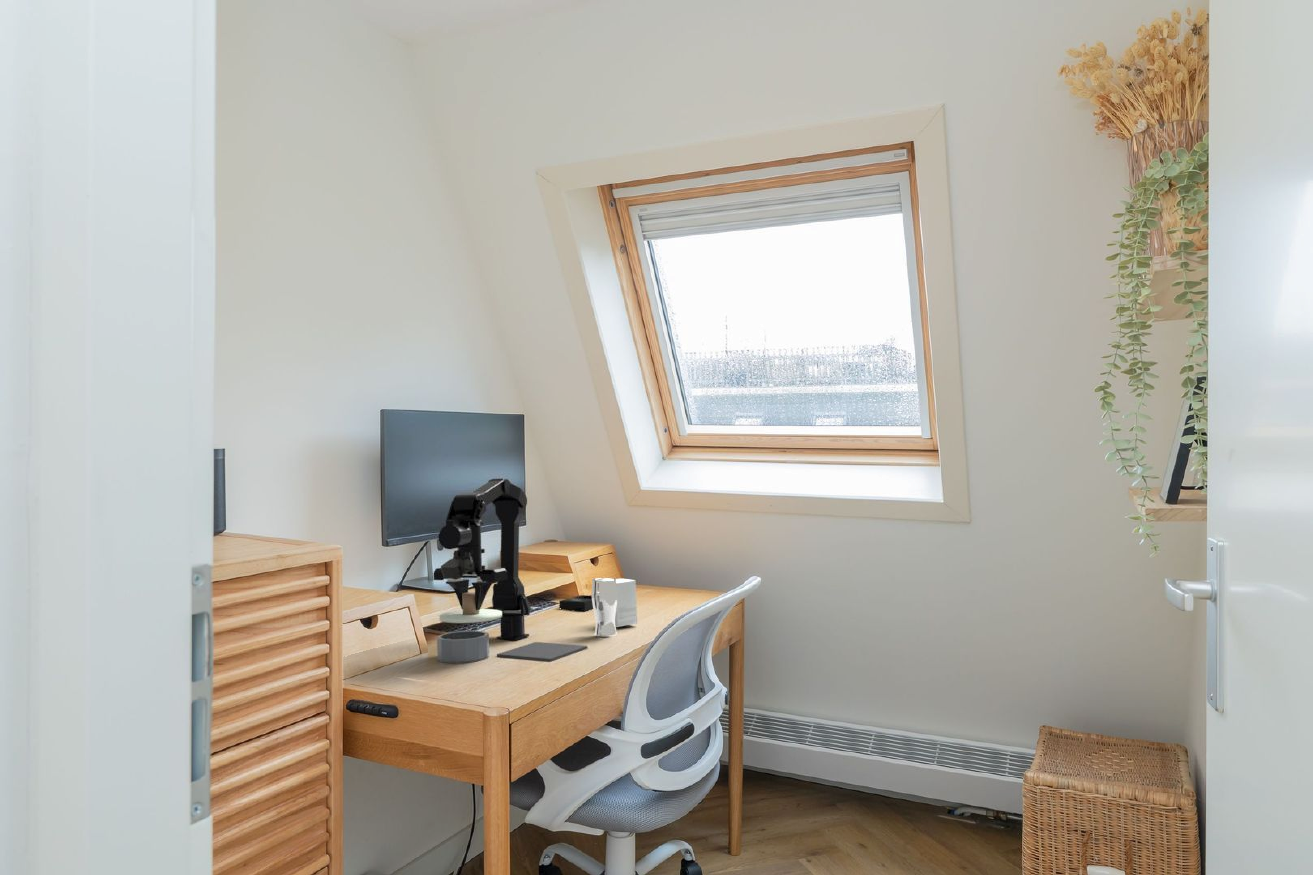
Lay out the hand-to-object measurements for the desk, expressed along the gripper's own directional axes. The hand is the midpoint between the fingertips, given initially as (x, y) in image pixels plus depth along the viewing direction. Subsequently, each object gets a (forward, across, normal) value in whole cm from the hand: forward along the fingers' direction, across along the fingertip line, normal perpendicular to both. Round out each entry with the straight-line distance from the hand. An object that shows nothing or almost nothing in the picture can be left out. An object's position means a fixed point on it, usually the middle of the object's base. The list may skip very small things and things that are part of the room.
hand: (470, 609), depth 222 cm
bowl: (+12, -2, -1) cm, 12 cm away
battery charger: (+12, -12, +72) cm, 74 cm away
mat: (+12, +14, +11) cm, 21 cm away
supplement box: (+12, +12, +52) cm, 54 cm away
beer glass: (+12, +17, +36) cm, 41 cm away
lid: (+2, 0, 0) cm, 2 cm away
